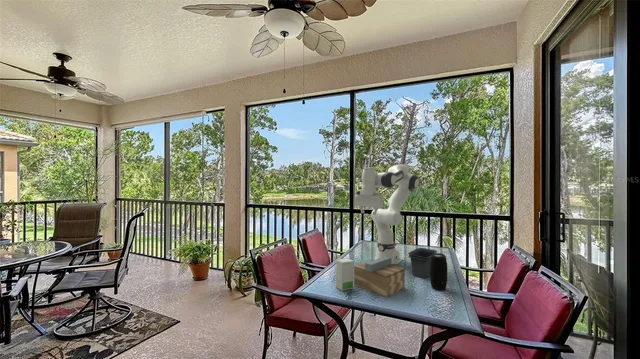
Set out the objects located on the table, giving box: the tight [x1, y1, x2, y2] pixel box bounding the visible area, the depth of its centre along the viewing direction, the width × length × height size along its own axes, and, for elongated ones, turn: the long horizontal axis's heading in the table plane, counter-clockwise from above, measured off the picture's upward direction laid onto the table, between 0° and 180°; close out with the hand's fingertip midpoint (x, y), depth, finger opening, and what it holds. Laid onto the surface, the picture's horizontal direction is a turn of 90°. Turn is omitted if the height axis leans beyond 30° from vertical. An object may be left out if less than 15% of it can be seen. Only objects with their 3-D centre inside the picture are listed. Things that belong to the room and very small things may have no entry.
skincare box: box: [335, 258, 355, 291], centre depth 152 cm, size 8×7×16 cm
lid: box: [354, 259, 406, 278], centre depth 154 cm, size 18×22×1 cm
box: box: [353, 268, 406, 298], centre depth 154 cm, size 18×22×10 cm
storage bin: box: [408, 247, 439, 279], centre depth 176 cm, size 21×16×14 cm
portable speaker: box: [429, 252, 448, 291], centre depth 152 cm, size 8×9×19 cm
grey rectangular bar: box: [365, 256, 392, 272], centre depth 154 cm, size 20×4×4 cm, turn 133°
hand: (368, 213), depth 173 cm, fingers open, 8 cm apart
